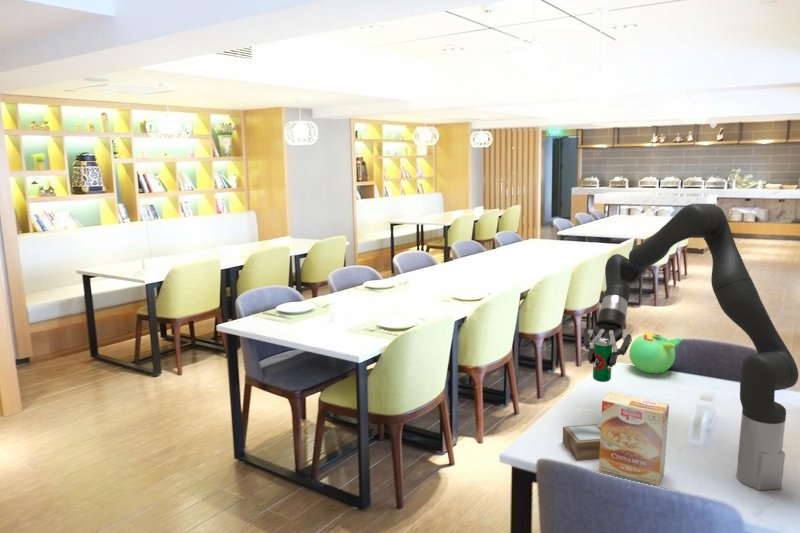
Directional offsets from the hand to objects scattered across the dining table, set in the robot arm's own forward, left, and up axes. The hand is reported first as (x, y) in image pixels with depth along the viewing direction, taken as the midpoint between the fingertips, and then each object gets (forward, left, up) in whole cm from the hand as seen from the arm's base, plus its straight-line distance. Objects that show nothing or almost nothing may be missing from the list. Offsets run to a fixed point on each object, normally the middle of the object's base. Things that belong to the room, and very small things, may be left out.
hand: (600, 363), depth 175 cm
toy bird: (+44, -43, -22) cm, 65 cm away
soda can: (+1, -1, -6) cm, 6 cm away
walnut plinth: (-9, +7, -22) cm, 24 cm away
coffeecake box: (-21, +1, -22) cm, 31 cm away
